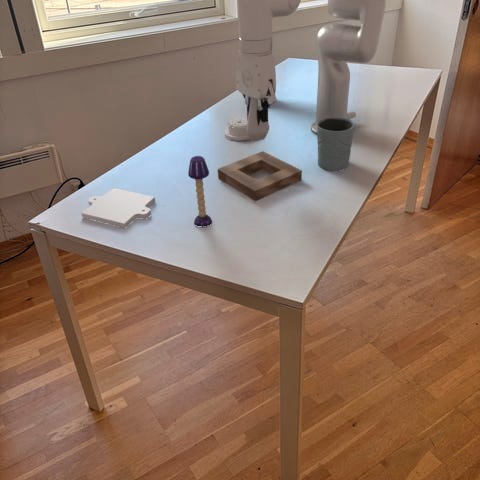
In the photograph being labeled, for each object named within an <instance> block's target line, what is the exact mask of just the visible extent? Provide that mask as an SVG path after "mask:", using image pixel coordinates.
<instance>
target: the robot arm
mask: <svg viewBox="0 0 480 480" xmlns="http://www.w3.org/2000/svg"><path fill="white" fill-rule="evenodd" d="M386 2H387V0H327V12H328V14H329V15H330V16H331V17H333V18H336V19H342V20H352V21H360V25H353V24H346V23H328V24H326V25H324V26H322V27H321V28H320V29H319V31H318V32H317V35H316V38H315V39H316V42H315V44H316V45H315V47H316V54H317V66H318V68H317V69H318V72H317V73H318V74H317V75H318V76H317V93H316V94H317V95H316V112H315V113H316V116H315V121H314V122H312V124H311V125H310V130H311V132H312V133H313V134H315V135H317V123H318V121H320V120H321V119H324V118H330V117H341V118H346V119H349V120H352V119H353V118H356V116H357V113H356V112H355V111H350V112H349V113H348V106H349V105H348V104H349V97H350V96H349V95H350V92H349V91H350V83H351V72H350V71H351V70H350V68H349V66H348V62H349V63H356V64H368V63H370V62H371V61H372V60H373V59H374V58H375V57H374V56H375V55H376V52H377V50H378V49H377V48H378V45H379V40H380V35H381V32H382V30H381V29H382V25H383V21H384V20H383V19H384V14H385V11H386V4H387V3H386ZM300 4H301V0H237V18H238V22H237V23H238V38H239V40H238V41H239V42H238V43H239V44H238V45H239V49H238V50H237V51H238V52H237V57H236V66H235V67H236V68H235V69H236V77H235V78H236V79H235V80H236V90H237V92H239V93H240V94H242V96H243V98H244V103H245V106H246V120H247V121H248V115H249V108H250V107H249V106H250V97H252V98H255V99H257V100H258V110H257V122H258V126H259V123H260V119H261V121H262V122H266V121H267V122H268V123H269V109H270V108H271V105H272V104H274V103H277V101H278V100H277V99H278V98H277V96H276V91H277V74H276V73H277V72H276V64H275V58H274V52H273V18H278V17H279V18H280V17H288V16H291V15H292V14H293V13H295V12H296V11H297V9H298V8H299V6H300ZM249 96H250V97H249ZM263 99H265V101H264V102H263V103H262V100H263Z"/></svg>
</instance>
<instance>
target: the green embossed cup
mask: <svg viewBox="0 0 480 480" xmlns="http://www.w3.org/2000/svg"><path fill="white" fill-rule="evenodd" d="M355 126H356V125H355V122H354V121H353V120H352V119H350V120H349V119H346V118H341V117H330V118H324V119H321V120H320V121H318V123H317V134H316V135H317V136H316V137H317V139H316V141H317V142H316V143H317V165H318V167H319V168H320V169H322V170H324V171H328V172H341V171H340V170H342V171H344V170H346V169H348V167H349V163H350V157H351V151H352V146H353V145H352V144H353V138H354V133H355ZM343 169H344V170H343Z"/></svg>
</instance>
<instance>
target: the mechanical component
mask: <svg viewBox="0 0 480 480" xmlns="http://www.w3.org/2000/svg"><path fill="white" fill-rule="evenodd" d="M246 128H247V118H244V117H241V118H239V117H238V118H234V119H232V120H229V121H228V122H227V128H225V130H224V137H225V138H226V139H228V140H230V141H235V142H236V141H237V142H238V141H239V142H241V141H247V140H251V138H250V136H249V134H248V133H247V130H246Z"/></svg>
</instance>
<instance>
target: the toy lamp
mask: <svg viewBox="0 0 480 480" xmlns="http://www.w3.org/2000/svg"><path fill="white" fill-rule="evenodd" d="M187 174H188V175H187V176H188V177H189V178H190V179H192V180H195V187H196V189H195V192H196V198H197V210H198V215H197V216H195V218H194V221H193V223H194V226H195V225H197V226H202V227H201V228H204V227H203V226H207V225H209V226H211V225H212V224H213V220H212V218H211V216H210V215H209V214H207V211H206V208H207V207H206V205H205V204H206V200H205V189H204V182H203V181H204V179H205V178H207V177H208V176H210V175H209V174H210V170H209V167H208V165H207V162H206V159H205V158H204V157H203V156H201V155H195V156H192V157H191V158H190V159H189V166H188V172H187ZM210 224H211V225H210ZM197 226H196V227H197ZM207 227H208V226H207Z"/></svg>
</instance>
